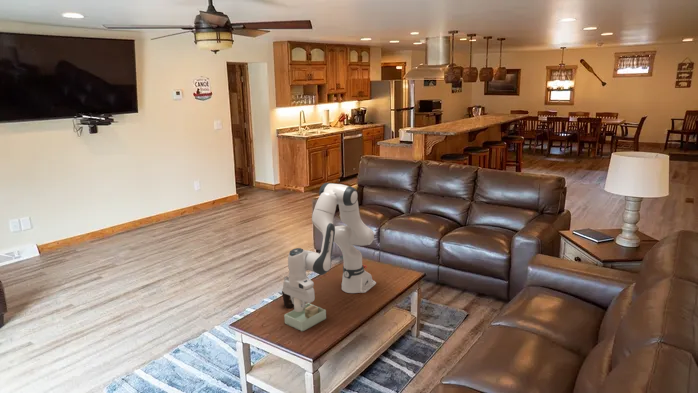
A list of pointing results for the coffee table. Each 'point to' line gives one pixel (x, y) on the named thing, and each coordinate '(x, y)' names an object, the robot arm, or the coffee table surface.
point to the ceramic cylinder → (298, 305)
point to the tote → (304, 318)
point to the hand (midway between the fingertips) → (299, 305)
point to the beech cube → (311, 311)
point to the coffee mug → (287, 300)
